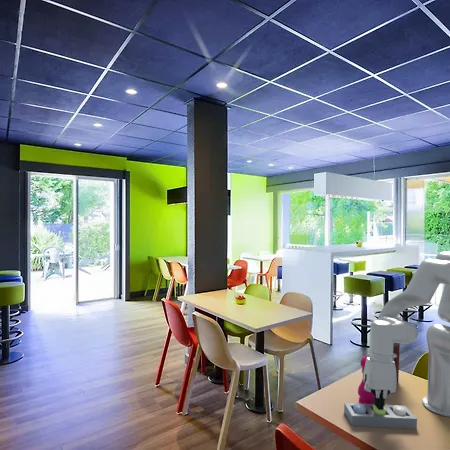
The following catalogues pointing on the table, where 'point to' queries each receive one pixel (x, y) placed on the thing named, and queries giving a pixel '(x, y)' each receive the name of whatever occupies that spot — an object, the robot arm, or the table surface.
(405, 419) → the panel
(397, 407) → the white rounded piece
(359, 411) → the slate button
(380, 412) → the lime button
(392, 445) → the table surface
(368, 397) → the pepper mill
